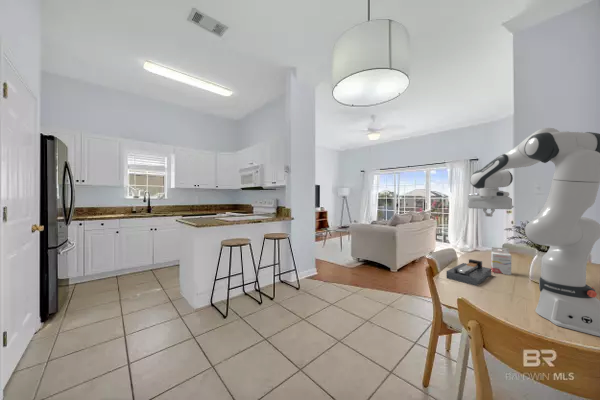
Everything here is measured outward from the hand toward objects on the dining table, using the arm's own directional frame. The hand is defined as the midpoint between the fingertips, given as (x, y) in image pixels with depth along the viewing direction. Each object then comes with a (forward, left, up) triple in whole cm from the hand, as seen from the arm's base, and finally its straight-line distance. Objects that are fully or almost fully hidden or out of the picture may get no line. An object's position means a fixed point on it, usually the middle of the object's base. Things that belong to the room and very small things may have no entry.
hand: (488, 216), depth 132 cm
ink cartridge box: (-4, -6, -34) cm, 35 cm away
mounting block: (+5, +16, -34) cm, 38 cm away
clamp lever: (+5, +18, -30) cm, 35 cm away
